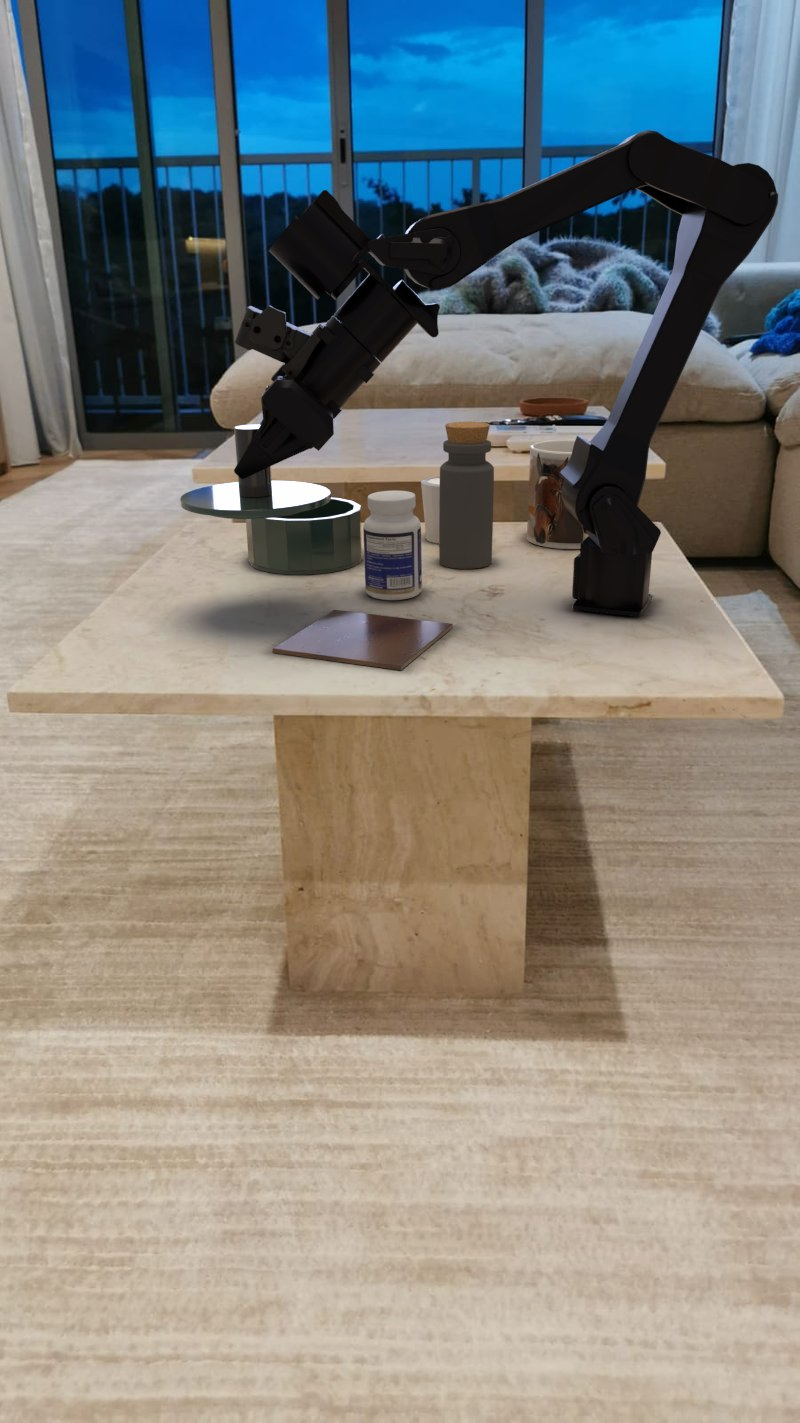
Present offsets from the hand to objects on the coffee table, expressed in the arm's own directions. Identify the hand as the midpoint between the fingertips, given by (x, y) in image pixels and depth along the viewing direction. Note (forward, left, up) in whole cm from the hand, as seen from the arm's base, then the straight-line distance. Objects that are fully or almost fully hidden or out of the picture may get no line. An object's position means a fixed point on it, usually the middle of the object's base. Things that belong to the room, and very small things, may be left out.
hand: (239, 471), depth 97 cm
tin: (+5, -21, -14) cm, 25 cm away
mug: (-21, -40, -14) cm, 47 cm away
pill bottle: (-10, -12, -14) cm, 21 cm away
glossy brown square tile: (-13, +2, -14) cm, 19 cm away
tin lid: (-1, -1, -3) cm, 3 cm away
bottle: (-13, -26, -14) cm, 32 cm away
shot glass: (-7, -36, -14) cm, 39 cm away
